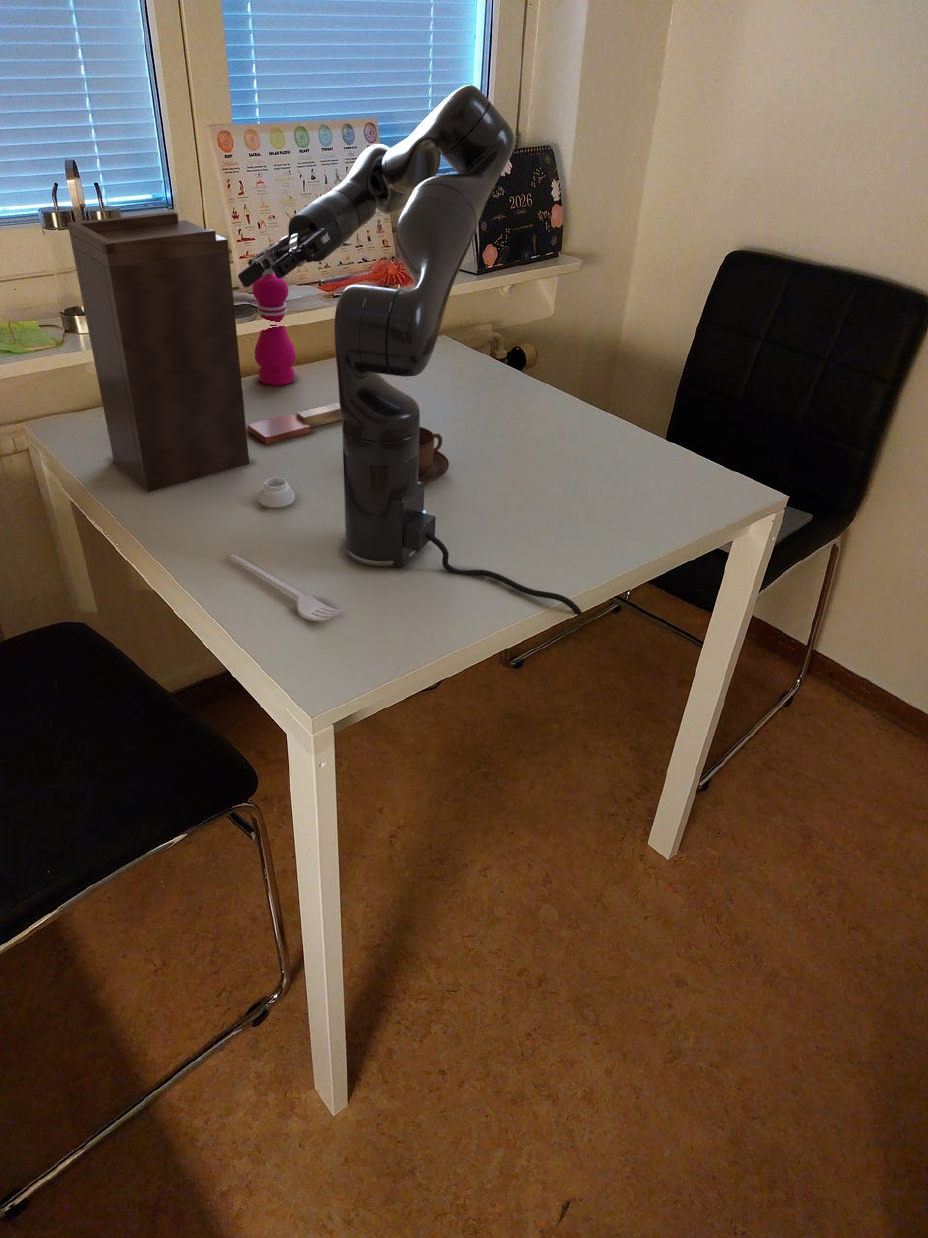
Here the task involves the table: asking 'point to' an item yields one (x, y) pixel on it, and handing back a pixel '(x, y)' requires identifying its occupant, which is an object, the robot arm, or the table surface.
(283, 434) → the spatula
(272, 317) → the pepper mill
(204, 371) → the tall wooden box
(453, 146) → the robot arm
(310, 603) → the fork
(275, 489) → the white jar
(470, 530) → the table surface
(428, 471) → the cup and saucer
